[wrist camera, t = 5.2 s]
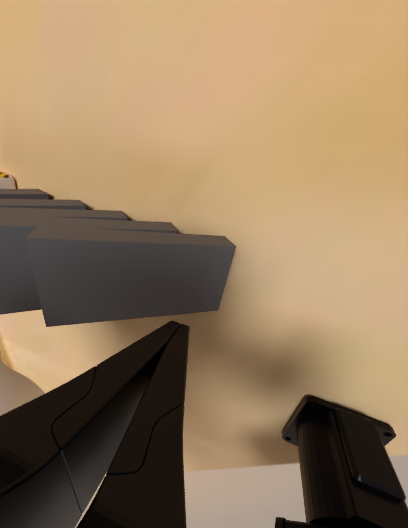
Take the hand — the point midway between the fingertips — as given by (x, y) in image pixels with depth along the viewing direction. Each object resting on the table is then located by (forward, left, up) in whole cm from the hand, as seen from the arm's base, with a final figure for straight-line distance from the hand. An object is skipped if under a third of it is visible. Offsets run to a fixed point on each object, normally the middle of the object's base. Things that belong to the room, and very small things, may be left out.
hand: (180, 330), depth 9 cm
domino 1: (0, -1, -6) cm, 6 cm away
